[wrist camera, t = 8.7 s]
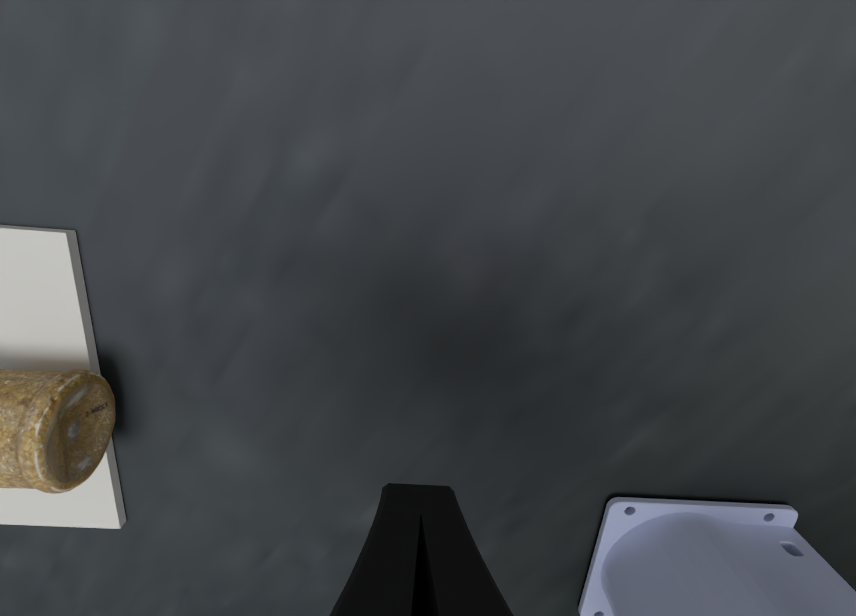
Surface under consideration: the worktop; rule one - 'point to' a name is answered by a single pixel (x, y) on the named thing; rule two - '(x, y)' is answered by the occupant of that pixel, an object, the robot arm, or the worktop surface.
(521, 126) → the worktop surface
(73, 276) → the mat
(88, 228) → the worktop surface
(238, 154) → the worktop surface
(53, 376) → the sprinkles bottle
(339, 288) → the worktop surface
